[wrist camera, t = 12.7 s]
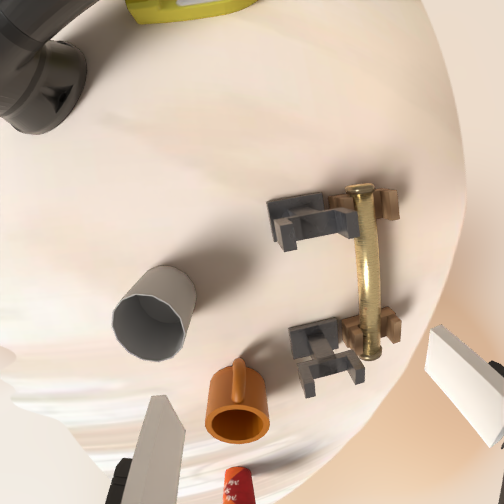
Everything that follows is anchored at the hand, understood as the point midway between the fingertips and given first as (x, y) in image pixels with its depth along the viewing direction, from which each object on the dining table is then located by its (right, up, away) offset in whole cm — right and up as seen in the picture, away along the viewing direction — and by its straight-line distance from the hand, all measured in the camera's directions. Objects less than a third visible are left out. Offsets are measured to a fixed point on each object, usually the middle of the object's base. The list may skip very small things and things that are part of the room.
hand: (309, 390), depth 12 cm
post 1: (+3, +11, +24) cm, 27 cm away
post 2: (+6, -6, +29) cm, 30 cm away
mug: (-5, -13, +30) cm, 33 cm away
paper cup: (-6, -42, +37) cm, 56 cm away
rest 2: (+15, -5, +29) cm, 33 cm away
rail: (+13, +3, +24) cm, 27 cm away
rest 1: (+11, +13, +24) cm, 30 cm away
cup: (-14, +1, +26) cm, 30 cm away
